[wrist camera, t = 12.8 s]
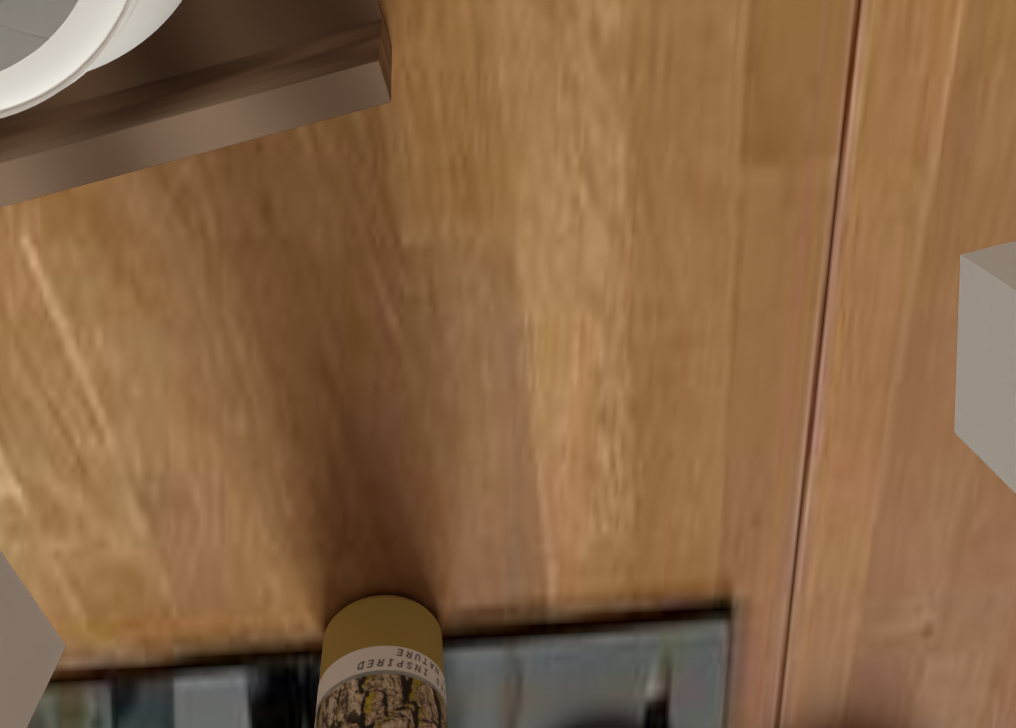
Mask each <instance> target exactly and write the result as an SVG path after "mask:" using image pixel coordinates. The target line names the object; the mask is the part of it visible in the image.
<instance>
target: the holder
mask: <svg viewBox="0 0 1016 728" xmlns="http://www.w3.org/2000/svg"><path fill="white" fill-rule="evenodd" d="M391 65H392V46H391V42H390V39H389V35H388V32H387V28H386V25H385V21H384V18H383V15H382V11H381V8H380V4H379V1H378V0H182V1H181V3H180V4H179V6H178V7H177V8H176V9H175V11H174V12H173V13H172V14H171V16H170V17H169V18H168V19H167V20H166V21H165V22H164V23H163V24H162V25H161V26H160V27H159V28H158V29H157V30H156V31H155V32H154V33H153V34H152V35H150V36H149V37H148V38H147V39H145V40H144V41H143V42H142V43H140V44H139V45H138V46H136V47H135V48H133V49H132V50H130V51H129V52H127V53H125V54H124V55H122V56H120V57H118V58H117V59H115V60H113V61H111V62H109V63H107V64H105V65H102V66H100V67H98V68H95V69H93V70H90V71H88V72H86V73H85V74H84V75H82V76H81V77H80V78H79V79H77V80H76V81H75V82H73V83H72V84H70V85H69V86H67V87H66V88H64V89H63V90H61V91H60V92H58V93H57V94H55V95H53V96H52V97H50V98H48V99H47V100H45V101H43V102H41V103H39V104H37V105H35V106H33V107H31V108H29V109H26V110H24V111H21V112H19V113H16V114H13V115H10V116H7V117H4V118H0V207H4V206H7V205H11V204H15V203H18V202H22V201H26V200H30V199H33V198H37V197H41V196H44V195H48V194H52V193H55V192H59V191H63V190H67V189H70V188H74V187H78V186H81V185H85V184H89V183H92V182H96V181H100V180H104V179H107V178H111V177H115V176H118V175H122V174H126V173H130V172H133V171H137V170H141V169H144V168H148V167H152V166H155V165H159V164H163V163H167V162H170V161H174V160H178V159H181V158H185V157H189V156H193V155H196V154H200V153H204V152H207V151H211V150H215V149H218V148H222V147H226V146H230V145H233V144H237V143H241V142H244V141H248V140H252V139H256V138H259V137H263V136H267V135H270V134H274V133H278V132H281V131H285V130H289V129H293V128H296V127H300V126H304V125H307V124H311V123H315V122H319V121H322V120H326V119H330V118H333V117H337V116H341V115H344V114H348V113H352V112H356V111H359V110H363V109H367V108H370V107H374V106H378V105H381V104H385V103H389V102H391Z"/></svg>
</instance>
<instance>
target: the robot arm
mask: <svg viewBox="0 0 1016 728" xmlns="http://www.w3.org/2000/svg"><path fill="white" fill-rule="evenodd" d="M954 433H955V434H956V435H957V436H958V437H959V438H960V439H961V440H962V441H963V442H964V443H965V444H966V445H968V446H969V447H970V448H971V449H972V450H973V451H974V452H975V453H976V454H977V455H978V456H979V457H980V458H981V459H982V460H983V461H984V462H985V463H986V464H987V465H988V466H989V467H990V468H991V469H992V470H993V471H994V472H995V473H996V474H997V475H998V476H999V477H1000V478H1001V479H1002V480H1003V481H1004V482H1005V483H1006V484H1007V485H1008V486H1009V487H1010V488H1011V489H1012V490H1013V491H1014V492H1015V493H1016V241H1013V242H1009V243H1005V244H1001V245H997V246H993V247H989V248H985V249H981V250H977V251H973V252H969V253H965V254H961V257H960V285H959V314H958V343H957V372H956V400H955V429H954ZM65 647H66V645H65V643H64V642H63V640H62V639H61V638H60V636H59V635H58V633H57V632H56V630H55V629H54V627H53V626H52V625H51V623H50V622H49V620H48V619H47V617H46V616H45V614H44V613H43V612H42V610H41V609H40V607H39V606H38V604H37V603H36V601H35V600H34V599H33V597H32V596H31V594H30V593H29V591H28V590H27V588H26V587H25V586H24V584H23V583H22V581H21V580H20V578H19V577H18V575H17V574H16V573H15V571H14V570H13V568H12V567H11V565H10V564H9V562H8V561H7V560H6V558H5V557H4V555H3V554H2V552H1V551H0V728H27V726H28V724H29V722H30V720H31V717H32V715H33V713H34V711H35V709H36V707H37V705H38V703H39V701H40V699H41V697H42V695H43V693H44V690H45V688H46V686H47V684H48V682H49V680H50V678H51V676H52V674H53V672H54V670H55V668H56V666H57V663H58V661H59V659H60V657H61V655H62V653H63V651H64V649H65Z"/></svg>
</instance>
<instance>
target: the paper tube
mask: <svg viewBox="0 0 1016 728" xmlns="http://www.w3.org/2000/svg"><path fill="white" fill-rule="evenodd" d="M315 728H448V720H447V704H446V688H445V680H444V664H443V648H442V634H441V630H440V626H439V624H438V622H437V620H436V618H435V617H434V616H433V615H432V614H431V613H430V612H429V611H428V610H427V609H426V608H425V607H424V606H422V605H421V604H419V603H417V602H415V601H413V600H411V599H408V598H405V597H401V596H395V595H376V596H370V597H366V598H362V599H360V600H357V601H355V602H353V603H351V604H349V605H347V606H346V607H344V608H343V609H342V610H341V611H340V612H338V613H337V614H336V615H335V616H334V617H333V619H332V620H331V621H330V623H329V624H328V626H327V628H326V631H325V635H324V639H323V649H322V659H321V670H320V680H319V687H318V697H317V707H316V718H315Z"/></svg>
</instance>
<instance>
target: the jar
mask: <svg viewBox="0 0 1016 728" xmlns="http://www.w3.org/2000/svg"><path fill="white" fill-rule="evenodd" d="M181 1H182V0H0V118H4V117H7V116H10V115H13V114H16V113H19V112H21V111H24V110H26V109H29V108H31V107H33V106H35V105H37V104H39V103H41V102H43V101H45V100H47V99H48V98H50V97H52V96H53V95H55V94H57V93H58V92H60V91H61V90H63V89H64V88H66V87H67V86H69V85H70V84H72V83H73V82H75V81H76V80H77V79H79V78H80V77H81V76H82V75H84V74H85V73H86V72H88V71H90V70H93V69H95V68H98V67H100V66H102V65H105V64H107V63H109V62H111V61H113V60H115V59H117V58H118V57H120V56H122V55H124V54H125V53H127V52H129V51H130V50H132V49H133V48H135V47H136V46H138V45H139V44H140V43H142V42H143V41H144V40H145V39H147V38H148V37H149V36H150V35H152V34H153V33H154V32H155V31H156V30H157V29H158V28H159V27H160V26H161V25H162V24H163V23H164V22H165V21H166V20H167V19H168V18H169V17H170V16H171V14H172V13H173V12H174V11H175V9H176V8H177V7H178V6H179V4H180V3H181Z"/></svg>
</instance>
